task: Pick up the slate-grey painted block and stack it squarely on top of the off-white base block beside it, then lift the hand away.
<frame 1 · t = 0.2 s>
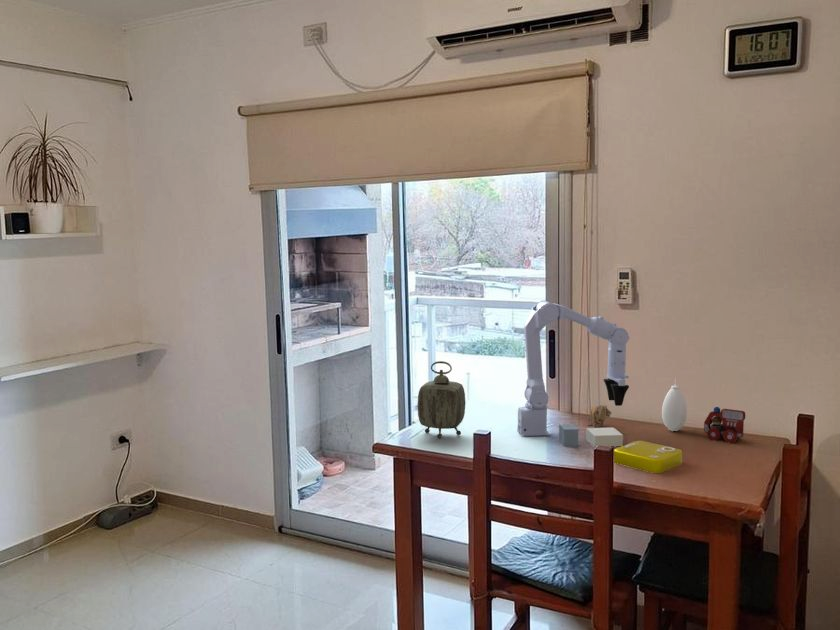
hand: (615, 402, 243), 10 cm above the table, tool pointing down, fingers open, 7 cm apart
base block: (603, 443, 232), on the table
toy fire truck: (723, 440, 236), on the table
grey block: (568, 443, 231), on the table
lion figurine: (598, 428, 250), on the table
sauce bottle: (673, 431, 246), on the table
tabletop clock: (440, 437, 239), on the table
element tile: (647, 464, 211), on the table
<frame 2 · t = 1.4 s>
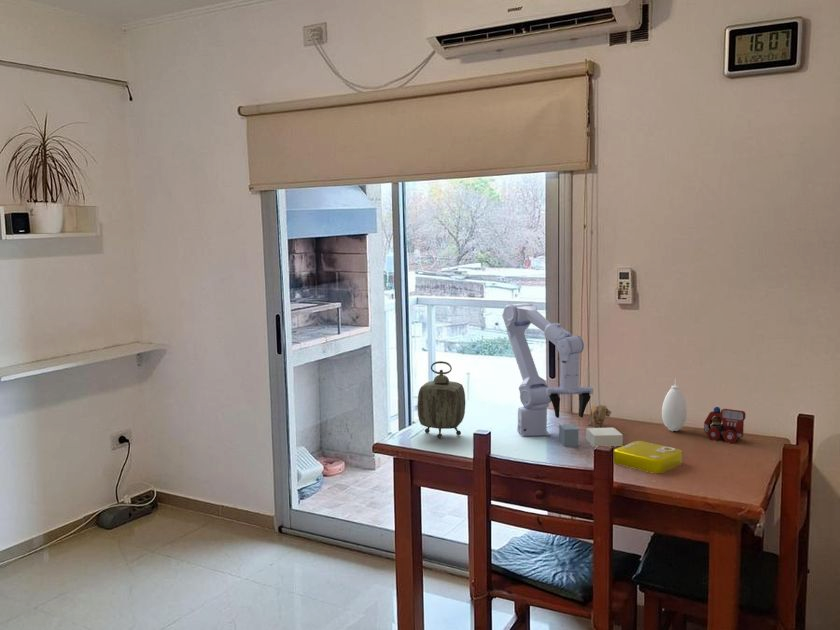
hand: (569, 416, 230), 9 cm above the table, tool pointing down, fingers open, 7 cm apart
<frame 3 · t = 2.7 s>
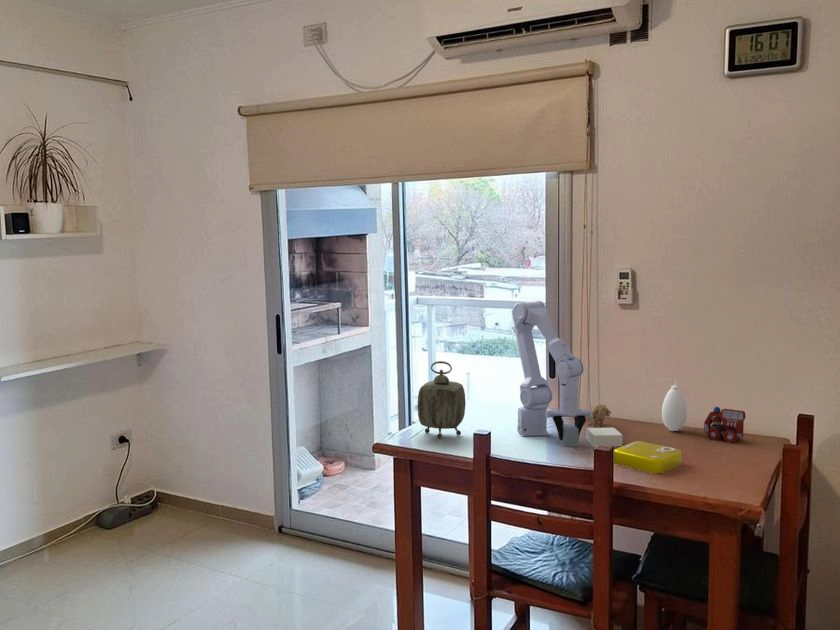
hand: (568, 439, 231), 1 cm above the table, tool pointing down, fingers closed on grey block, 4 cm apart
grey block: (568, 443, 231), on the table, touching gripper
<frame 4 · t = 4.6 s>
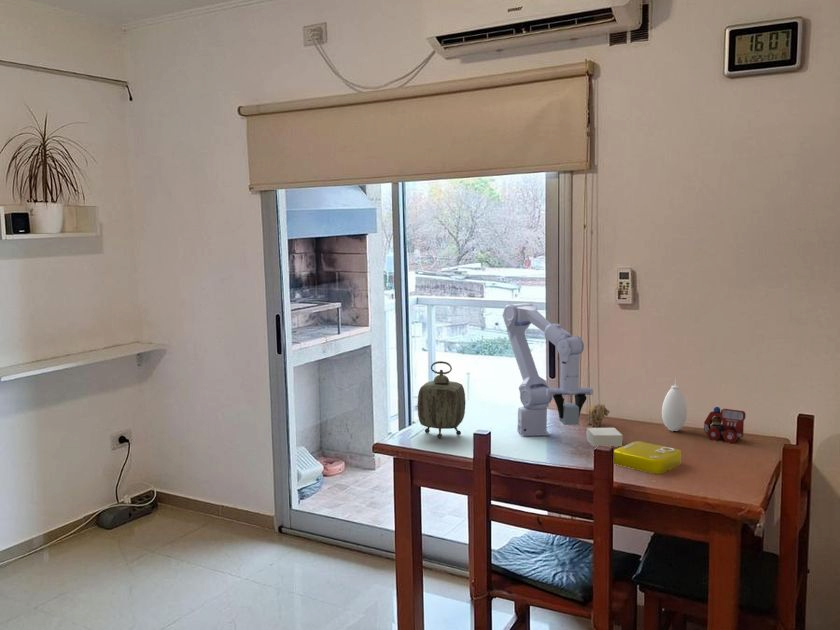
hand: (568, 417, 230), 8 cm above the table, tool pointing down, fingers closed on grey block, 4 cm apart
grey block: (568, 422, 230), point 7 cm above the table, touching gripper
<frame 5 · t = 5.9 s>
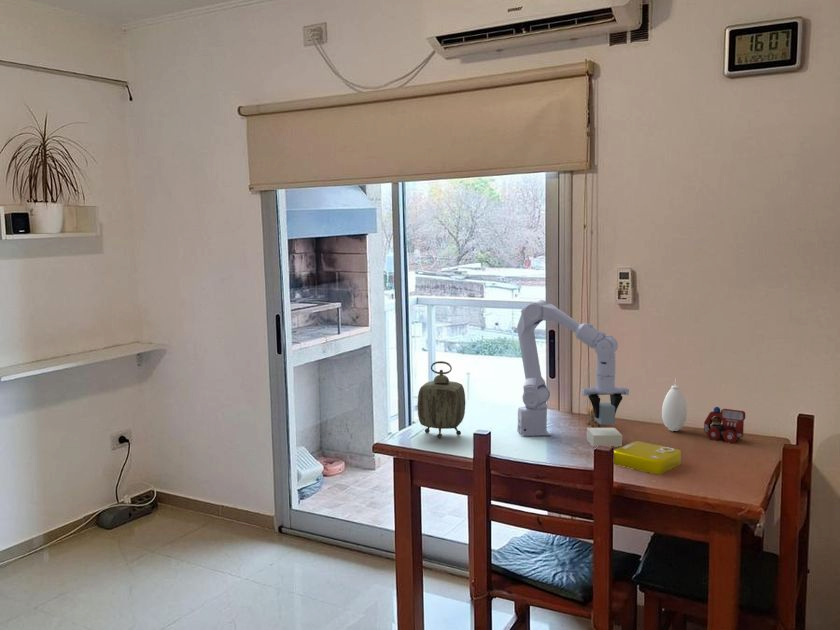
hand: (604, 417, 231), 8 cm above the table, tool pointing down, fingers closed on grey block, 4 cm apart
grey block: (604, 421, 231), point 7 cm above the table, touching gripper
when the fingers open (6 cm above the table, at t = 6.8 s): grey block moves 1 cm, point 4 cm above the table.
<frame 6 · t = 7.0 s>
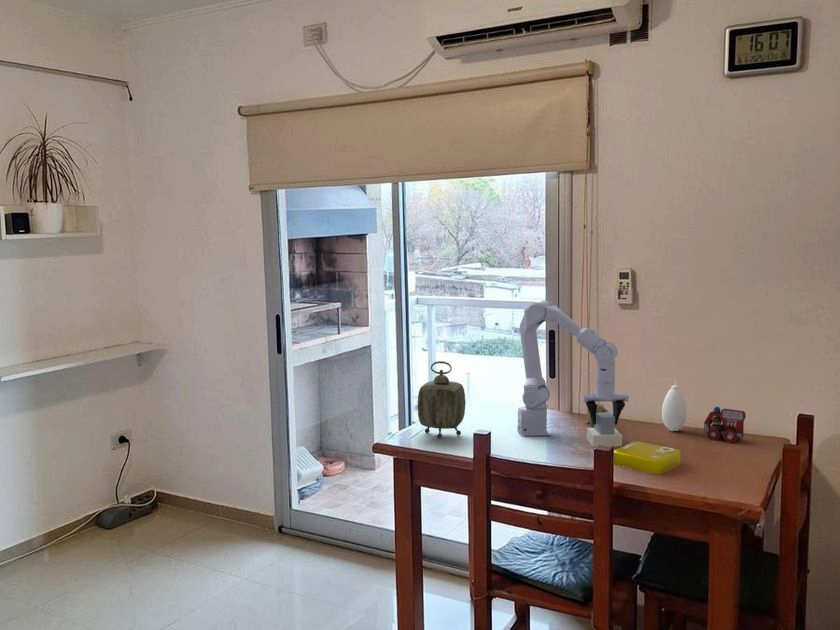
hand: (604, 423, 231), 6 cm above the table, tool pointing down, fingers open, 6 cm apart
grey block: (604, 431, 231), point 4 cm above the table
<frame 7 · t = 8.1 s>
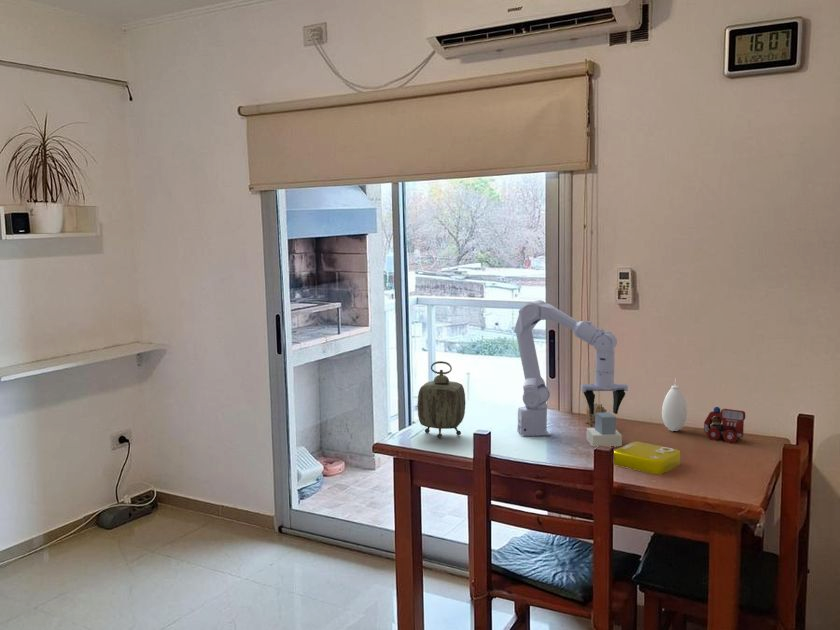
hand: (603, 413, 231), 9 cm above the table, tool pointing down, fingers open, 7 cm apart
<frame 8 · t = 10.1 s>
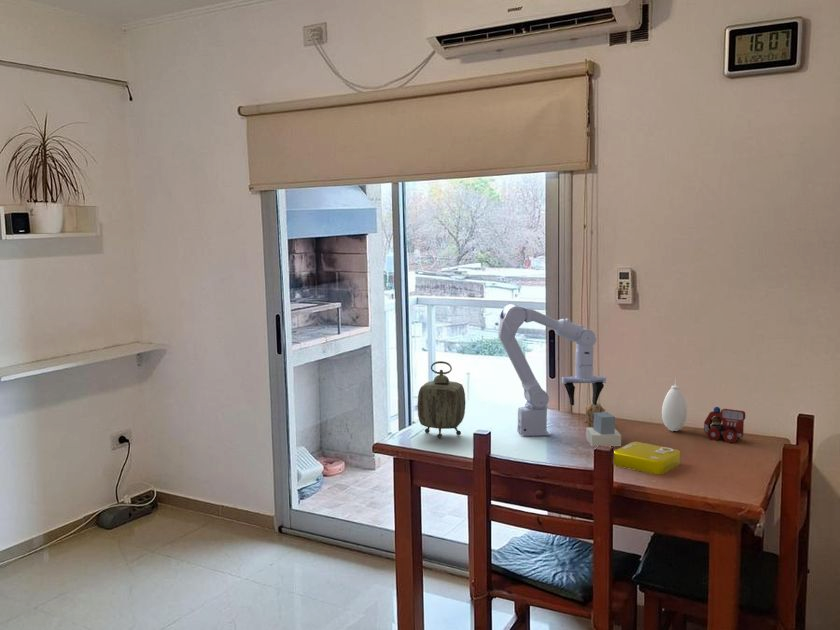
hand: (583, 404, 243), 9 cm above the table, tool pointing down, fingers open, 7 cm apart
base block: (603, 443, 232), on the table, touching grey block
grey block: (603, 431, 231), point 4 cm above the table, touching base block
at the end: grey block 0.3 cm off-centre on the base block, point 4.0 cm above the base block's base; grey block tilted 0°; the gripper is holding nothing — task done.
